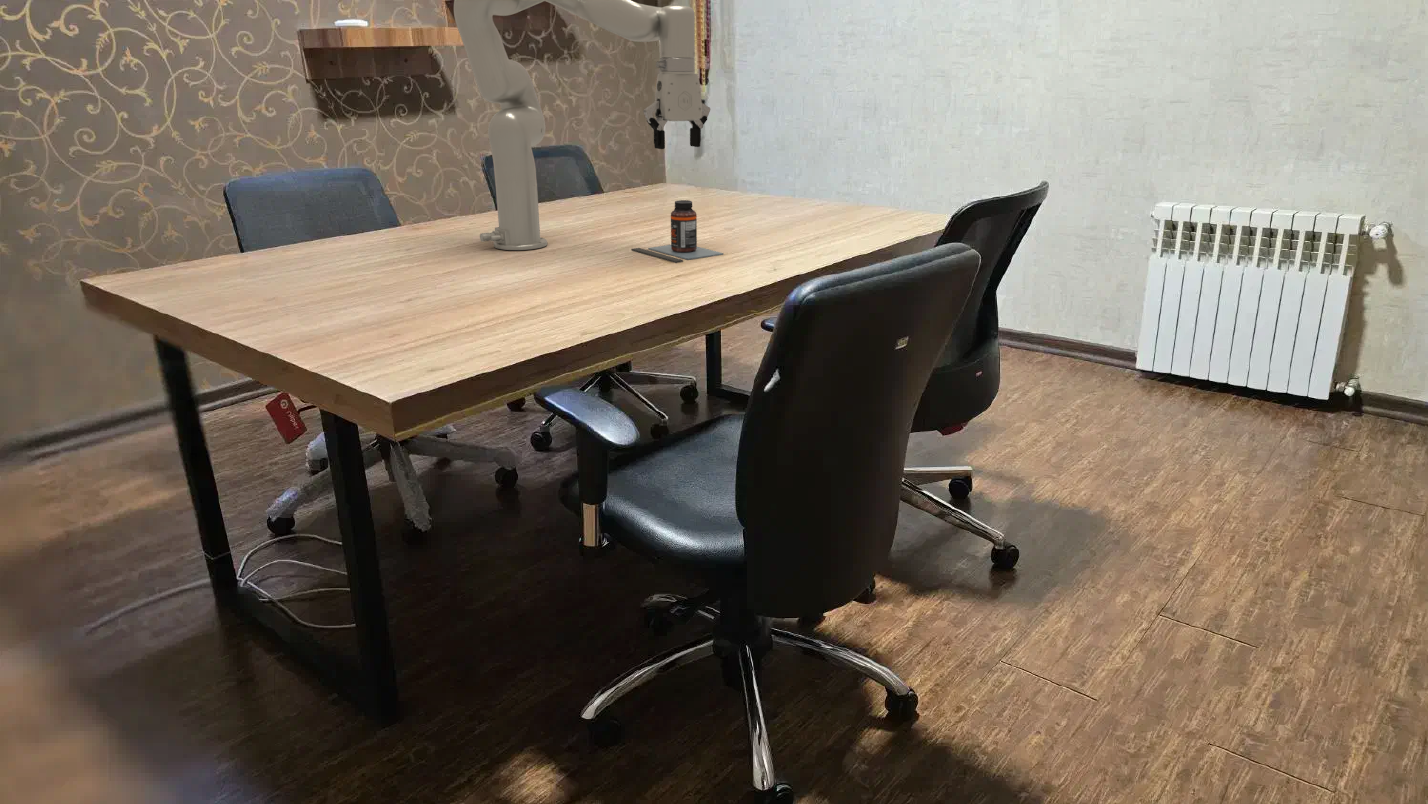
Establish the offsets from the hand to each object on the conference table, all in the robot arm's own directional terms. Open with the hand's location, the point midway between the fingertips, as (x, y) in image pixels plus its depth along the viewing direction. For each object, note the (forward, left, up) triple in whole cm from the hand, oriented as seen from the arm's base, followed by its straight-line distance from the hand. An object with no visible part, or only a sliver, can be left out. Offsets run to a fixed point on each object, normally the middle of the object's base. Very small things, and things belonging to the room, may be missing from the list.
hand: (677, 147), depth 217 cm
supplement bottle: (0, -1, -23) cm, 23 cm away
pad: (+1, -1, -23) cm, 23 cm away
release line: (-7, -1, -23) cm, 25 cm away
